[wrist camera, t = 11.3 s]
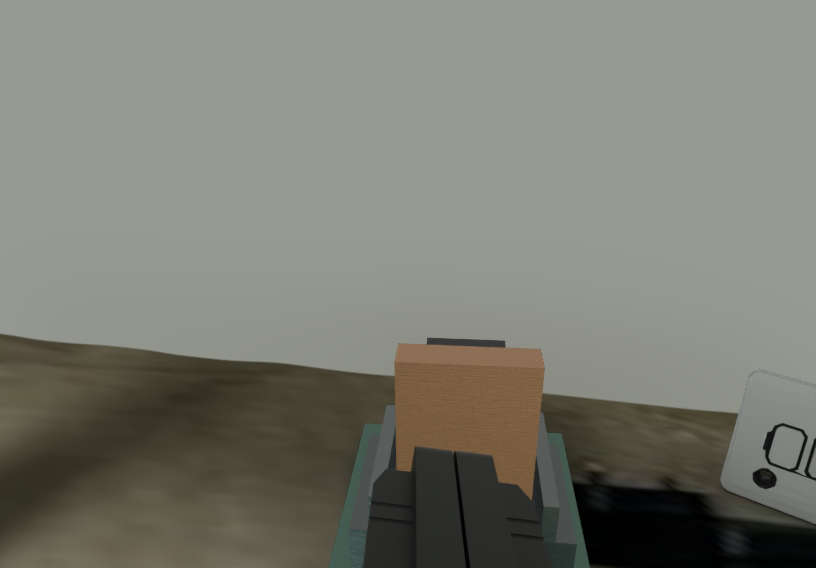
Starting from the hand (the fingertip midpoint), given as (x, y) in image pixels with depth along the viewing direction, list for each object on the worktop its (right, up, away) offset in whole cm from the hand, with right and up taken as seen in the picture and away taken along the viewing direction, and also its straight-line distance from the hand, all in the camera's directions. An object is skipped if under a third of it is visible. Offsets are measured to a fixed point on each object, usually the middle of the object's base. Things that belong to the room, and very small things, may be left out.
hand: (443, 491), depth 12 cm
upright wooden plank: (+2, -13, +26) cm, 29 cm away
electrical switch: (+27, -11, +34) cm, 45 cm away
